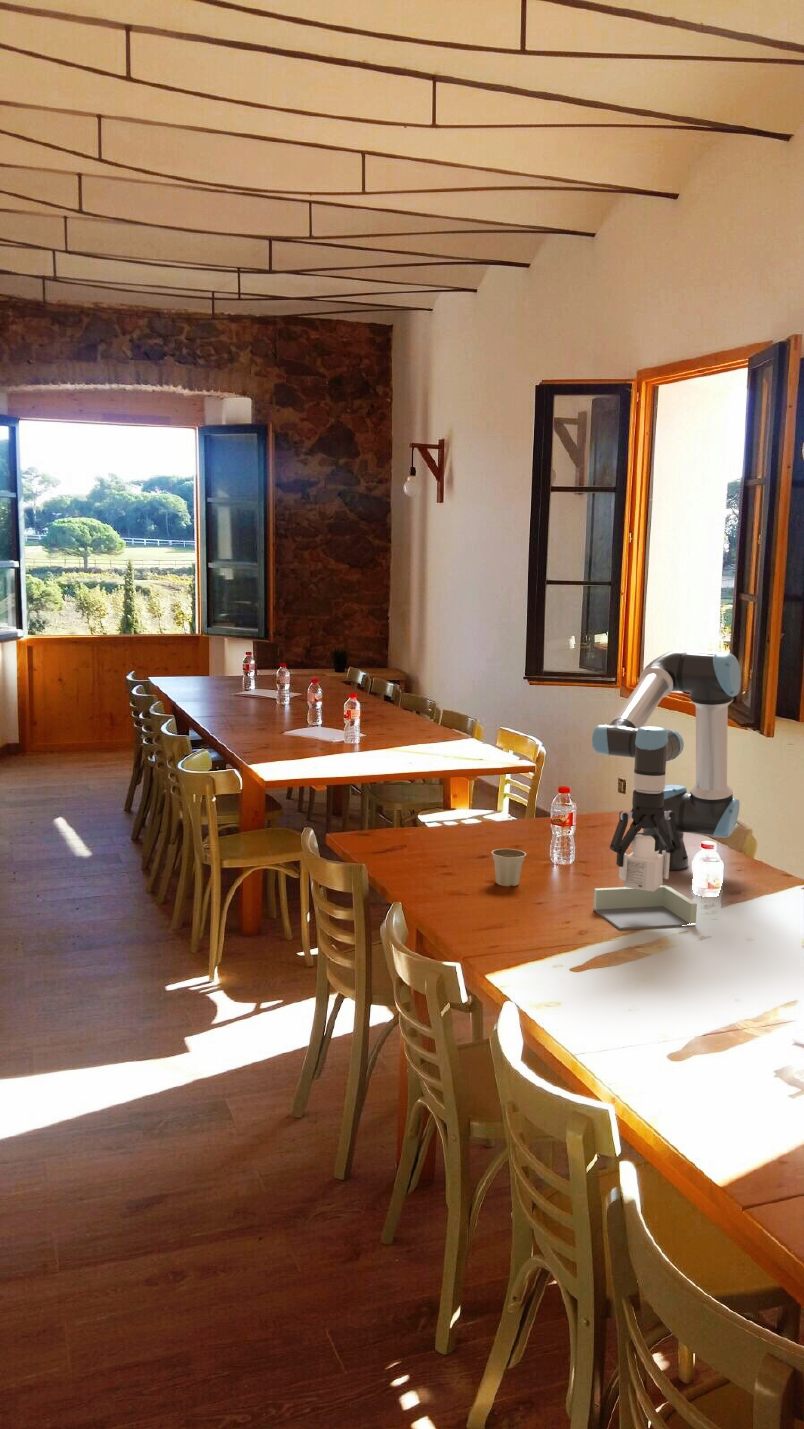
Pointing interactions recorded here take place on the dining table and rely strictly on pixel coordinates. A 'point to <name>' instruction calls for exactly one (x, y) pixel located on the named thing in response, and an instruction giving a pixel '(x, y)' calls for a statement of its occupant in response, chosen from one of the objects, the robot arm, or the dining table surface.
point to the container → (645, 863)
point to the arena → (644, 907)
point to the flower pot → (508, 866)
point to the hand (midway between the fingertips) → (643, 878)
